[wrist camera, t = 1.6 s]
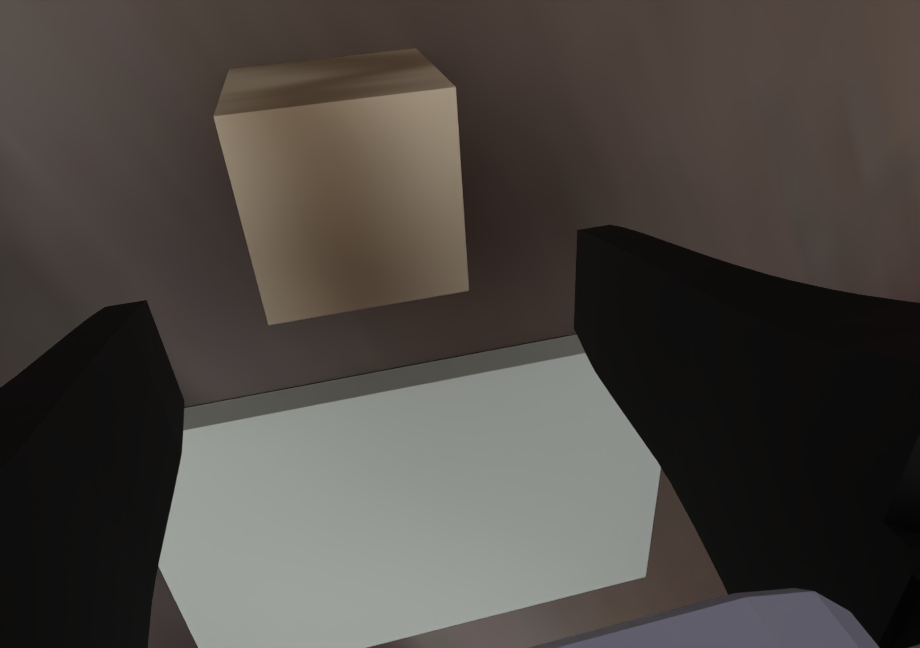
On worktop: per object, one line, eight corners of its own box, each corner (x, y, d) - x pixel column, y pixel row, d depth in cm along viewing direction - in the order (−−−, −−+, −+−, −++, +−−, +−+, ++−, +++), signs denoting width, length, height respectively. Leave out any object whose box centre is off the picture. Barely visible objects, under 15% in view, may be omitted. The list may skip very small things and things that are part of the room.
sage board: (663, 318, 25) (679, 334, 24) (634, 556, 33) (645, 576, 32) (108, 422, 22) (100, 446, 21) (218, 659, 29) (216, 685, 28)
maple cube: (415, 47, 18) (455, 87, 14) (431, 215, 21) (469, 290, 17) (229, 68, 17) (213, 116, 13) (270, 240, 20) (268, 325, 16)
